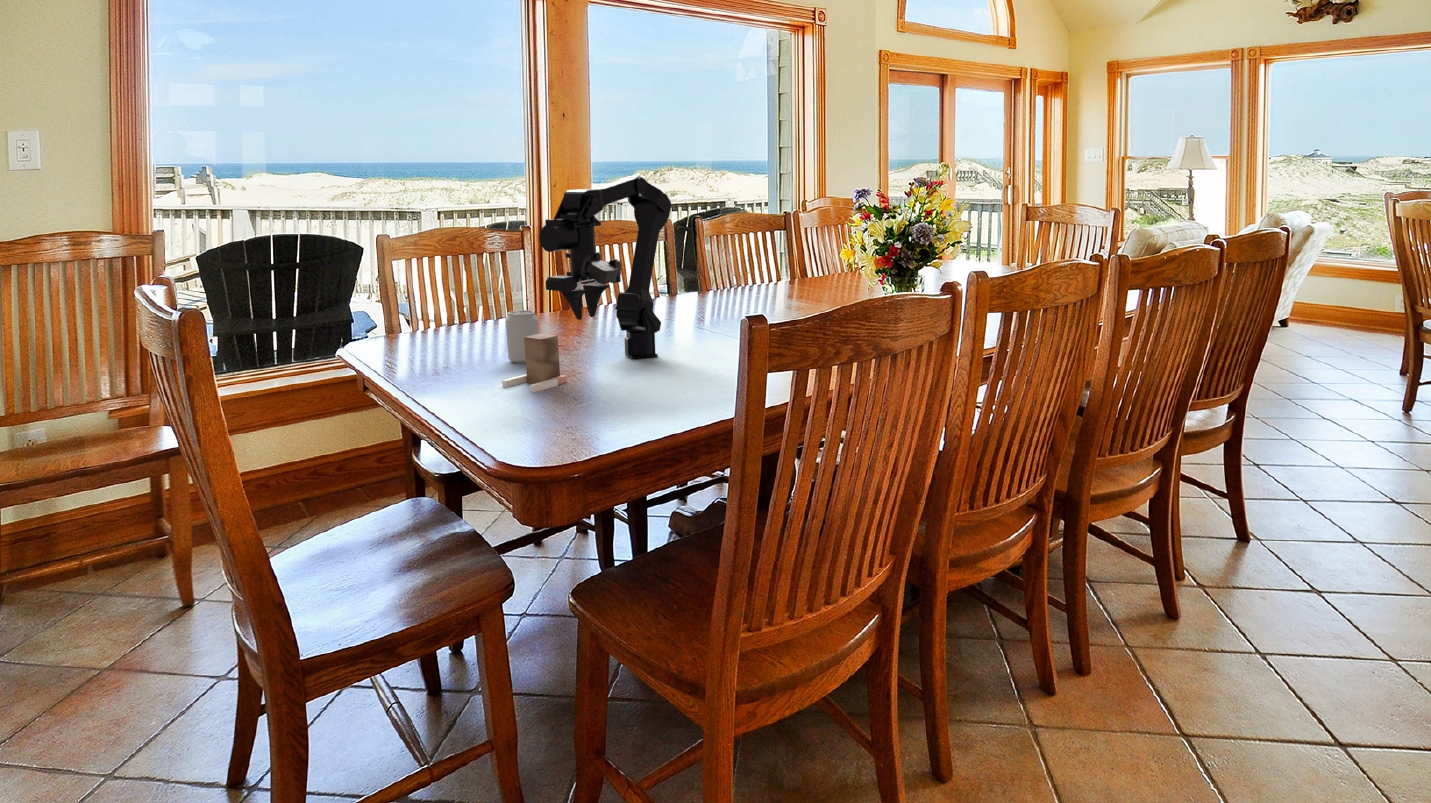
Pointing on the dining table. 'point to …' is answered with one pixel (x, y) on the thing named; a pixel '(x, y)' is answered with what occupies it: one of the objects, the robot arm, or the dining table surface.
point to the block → (541, 357)
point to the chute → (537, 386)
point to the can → (519, 333)
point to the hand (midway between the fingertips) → (585, 318)
